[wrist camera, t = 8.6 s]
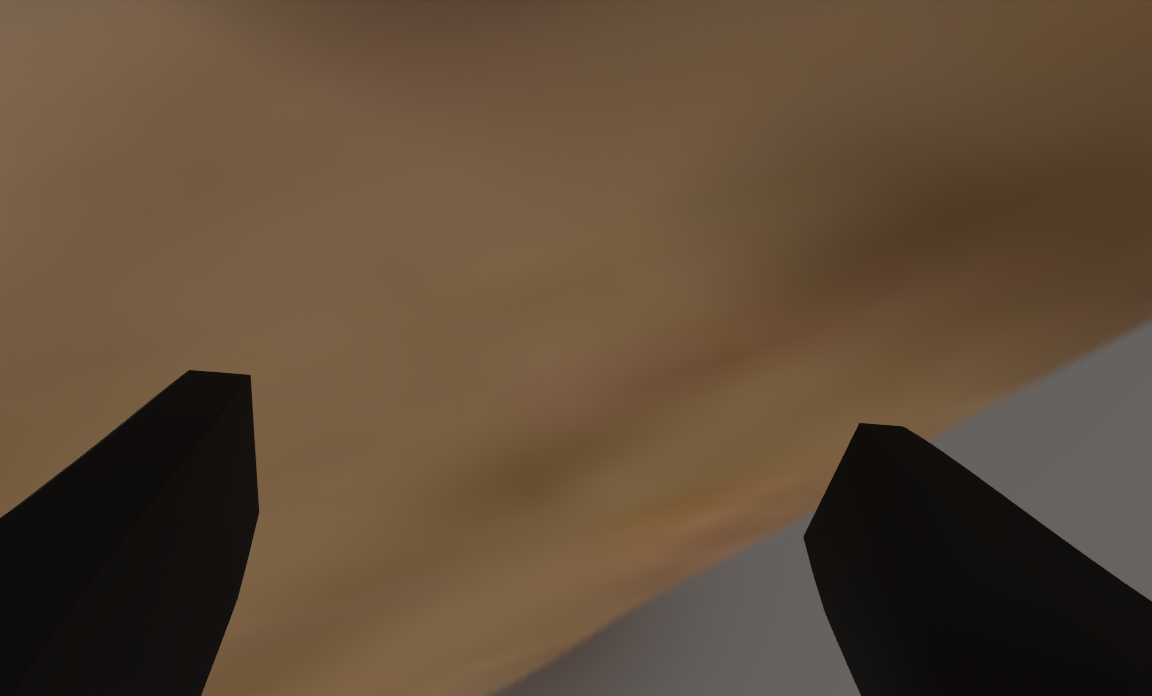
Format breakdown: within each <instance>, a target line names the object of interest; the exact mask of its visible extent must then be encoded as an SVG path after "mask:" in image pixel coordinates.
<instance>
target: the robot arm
mask: <svg viewBox="0 0 1152 696" xmlns="http://www.w3.org/2000/svg"><path fill="white" fill-rule="evenodd" d="M258 515H259V503H258V487H257V471H256V455H255V439H254V424H253V408H252V392H251V376H250V375H245V374H232V373H220V372H207V371H194V370H189V371H188V372H186V373H185V374H184V375H182V376H181V377H180V378H178V379H177V380H176V381H174V382H173V383H172V384H171V385H169V386H168V387H167V388H165V389H164V390H163V391H162V392H160V393H159V394H158V395H157V396H155V397H154V398H153V399H152V400H150V401H149V402H148V403H147V404H146V405H144V406H143V407H142V408H141V409H139V410H138V411H137V412H136V413H134V414H133V415H132V416H131V417H130V418H128V419H127V420H126V421H125V422H123V423H122V424H121V425H120V426H118V427H117V428H116V429H115V430H113V431H112V432H111V433H110V434H108V435H107V436H106V437H105V438H104V439H102V440H101V441H100V442H99V443H97V444H96V445H95V446H94V447H92V448H91V449H90V450H89V451H87V452H86V453H85V454H84V455H82V456H81V457H80V458H78V459H77V460H76V461H74V462H73V463H72V464H71V465H69V466H68V467H67V468H65V469H64V470H63V471H61V472H60V473H59V474H58V475H56V476H55V477H54V478H52V479H51V480H50V481H49V482H47V483H46V484H45V485H43V486H42V487H41V488H39V489H38V490H37V491H36V492H34V493H33V494H32V495H30V496H29V497H28V498H26V499H25V500H24V501H23V502H21V503H20V504H19V505H17V506H16V507H15V508H13V509H12V510H11V511H9V512H8V513H7V514H5V515H4V516H3V517H1V518H0V696H201V694H202V692H203V689H204V687H205V684H206V681H207V679H208V676H209V673H210V671H211V668H212V666H213V663H214V660H215V658H216V655H217V652H218V650H219V647H220V644H221V642H222V639H223V636H224V634H225V631H226V628H227V626H228V623H229V620H230V618H231V615H232V612H233V610H234V607H235V604H236V601H237V599H238V595H239V591H240V587H241V584H242V580H243V576H244V572H245V568H246V564H247V560H248V556H249V552H250V548H251V544H252V540H253V535H254V531H255V527H256V523H257V519H258ZM804 541H805V545H806V548H807V553H808V556H809V560H810V564H811V568H812V571H813V575H814V579H815V582H816V585H817V588H818V591H819V595H820V598H821V601H822V604H823V607H824V611H825V613H826V616H827V618H828V620H829V623H830V625H831V628H832V630H833V633H834V635H835V637H836V640H837V642H838V644H839V647H840V648H841V651H842V653H843V656H844V658H845V660H846V663H847V665H848V667H849V669H850V672H851V674H852V676H853V679H854V681H855V683H856V685H857V688H858V690H859V692H860V694H861V696H1152V601H1150V600H1149V599H1147V598H1146V597H1144V596H1143V595H1141V594H1140V593H1138V592H1137V591H1136V590H1134V589H1132V588H1131V587H1129V586H1128V585H1127V584H1125V583H1124V582H1122V581H1121V580H1120V579H1118V578H1117V577H1115V576H1114V575H1112V574H1111V573H1110V572H1108V571H1107V570H1105V569H1104V568H1102V567H1101V566H1100V565H1098V564H1097V563H1095V562H1094V561H1093V560H1091V559H1090V558H1088V557H1087V556H1086V555H1084V554H1083V553H1081V552H1080V551H1079V550H1077V549H1076V548H1074V547H1073V546H1072V545H1070V544H1069V543H1067V542H1066V541H1065V540H1063V539H1062V538H1061V537H1059V536H1058V535H1057V534H1055V533H1054V532H1052V531H1051V530H1050V529H1048V528H1047V527H1045V526H1044V525H1043V524H1041V523H1040V522H1039V521H1037V520H1036V519H1035V518H1033V517H1032V516H1030V515H1029V514H1028V513H1026V512H1025V511H1024V510H1022V509H1021V508H1020V507H1018V506H1017V505H1015V504H1014V503H1012V502H1011V501H1010V500H1009V499H1007V498H1006V497H1005V496H1003V495H1002V494H1001V493H999V492H998V491H996V490H995V489H994V488H992V487H991V486H990V485H988V484H987V483H985V482H984V481H983V480H981V479H980V478H979V477H977V476H976V475H975V474H973V473H972V472H970V471H969V470H967V469H966V468H965V467H963V466H962V465H961V464H959V463H958V462H956V461H955V460H954V459H952V458H951V457H949V456H948V455H946V454H945V453H944V452H942V451H941V450H939V449H938V448H936V447H935V446H933V445H932V444H930V443H929V442H927V441H926V440H924V439H923V438H921V437H920V436H918V435H916V434H915V433H913V432H911V431H910V430H908V429H907V428H905V427H903V426H891V425H878V424H866V423H859V425H858V427H857V429H856V431H855V433H854V435H853V437H852V439H851V441H850V443H849V445H848V447H847V449H846V451H845V454H844V456H843V458H842V460H841V462H840V464H839V466H838V468H837V470H836V472H835V474H834V476H833V478H832V480H831V482H830V484H829V486H828V488H827V490H826V492H825V494H824V496H823V498H822V500H821V502H820V504H819V506H818V508H817V510H816V512H815V514H814V516H813V518H812V520H811V523H810V525H809V527H808V529H807V531H806V533H805V535H804Z"/></svg>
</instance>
